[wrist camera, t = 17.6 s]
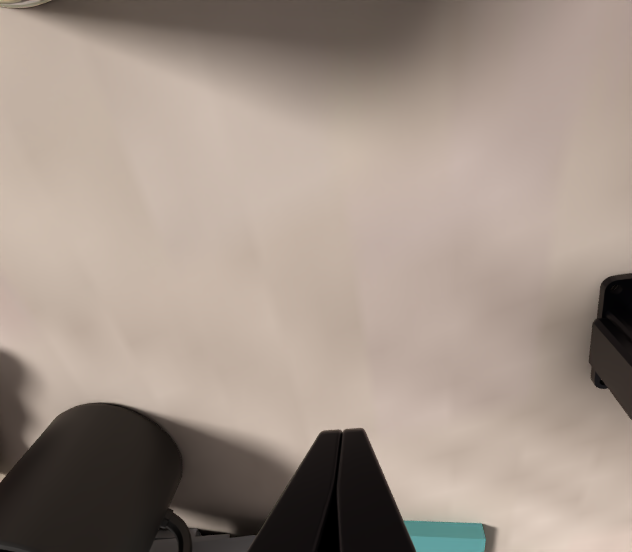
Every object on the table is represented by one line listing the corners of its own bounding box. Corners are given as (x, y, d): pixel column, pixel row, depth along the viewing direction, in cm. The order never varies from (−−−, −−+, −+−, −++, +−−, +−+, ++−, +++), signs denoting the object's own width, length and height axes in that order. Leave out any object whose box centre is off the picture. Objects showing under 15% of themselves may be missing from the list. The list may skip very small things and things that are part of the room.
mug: (189, 524, 32) (132, 677, 24) (39, 460, 31) (-75, 602, 23) (240, 457, 28) (191, 615, 20) (70, 378, 26) (-58, 517, 18)
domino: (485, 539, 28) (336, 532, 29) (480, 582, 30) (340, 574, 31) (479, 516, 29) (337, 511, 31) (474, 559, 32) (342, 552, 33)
